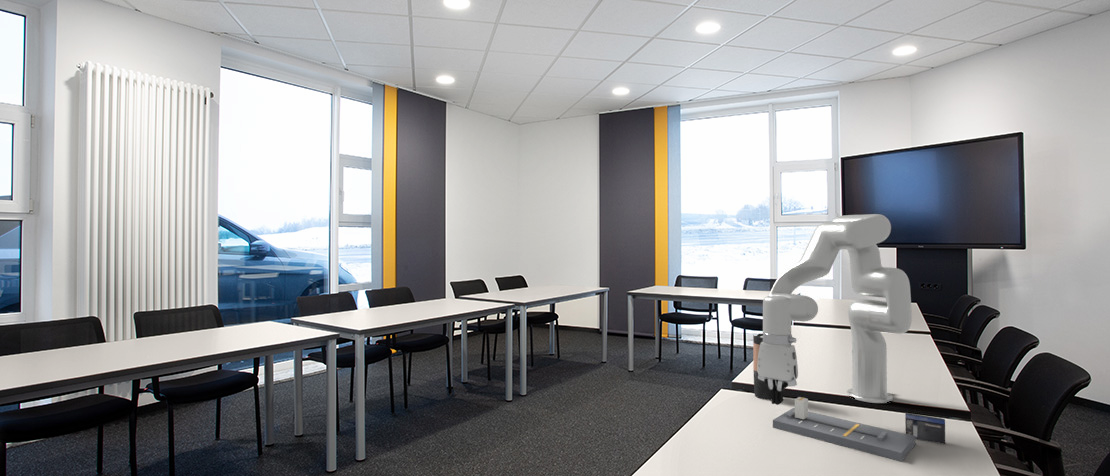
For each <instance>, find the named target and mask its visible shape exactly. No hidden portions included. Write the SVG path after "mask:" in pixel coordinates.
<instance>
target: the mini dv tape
mask: <svg viewBox="0 0 1110 476" xmlns="http://www.w3.org/2000/svg"><path fill="white" fill-rule="evenodd" d="M904 420H905V434H909V435H913V436H916V440H918V441H919V440H920V441H924V442H930V443H936V444H940V445H946V419H945V418H941V417H934V416H929V415H923V414H917V413H909V412H905V419H904Z"/></svg>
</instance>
